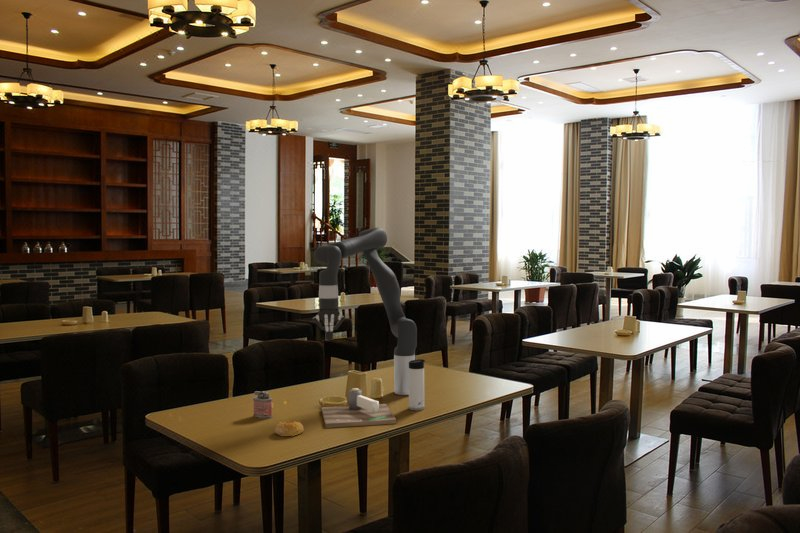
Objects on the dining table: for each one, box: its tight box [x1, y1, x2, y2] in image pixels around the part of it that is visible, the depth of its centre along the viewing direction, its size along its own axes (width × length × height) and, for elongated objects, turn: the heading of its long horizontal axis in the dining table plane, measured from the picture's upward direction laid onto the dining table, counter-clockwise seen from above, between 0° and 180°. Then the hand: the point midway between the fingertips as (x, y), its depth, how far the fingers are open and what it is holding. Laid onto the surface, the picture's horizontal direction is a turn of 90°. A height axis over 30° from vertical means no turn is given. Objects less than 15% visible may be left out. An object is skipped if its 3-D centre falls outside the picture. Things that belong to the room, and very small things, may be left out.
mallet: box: [348, 387, 380, 413], centre depth 254 cm, size 18×5×8 cm, turn 36°
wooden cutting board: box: [321, 403, 397, 429], centre depth 252 cm, size 23×26×2 cm
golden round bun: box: [274, 420, 305, 437], centre depth 233 cm, size 10×11×5 cm
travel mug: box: [408, 358, 426, 411], centre depth 263 cm, size 6×7×20 cm
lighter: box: [252, 390, 273, 420], centre depth 253 cm, size 8×3×10 cm, turn 71°
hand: (329, 340), depth 256 cm, fingers closed
